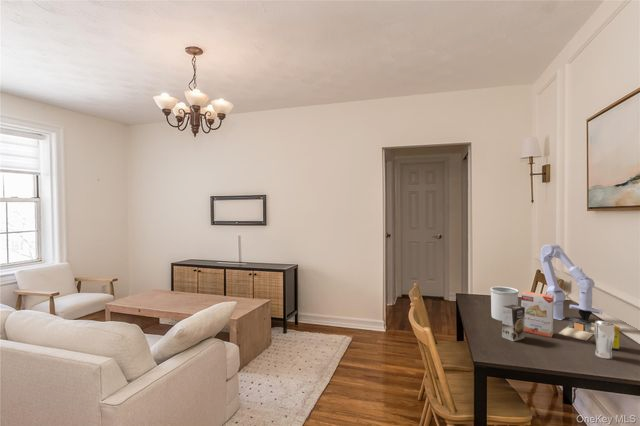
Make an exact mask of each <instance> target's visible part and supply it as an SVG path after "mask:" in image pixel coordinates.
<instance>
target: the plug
mask: <svg viewBox="0 0 640 426" xmlns="http://www.w3.org/2000/svg"><path fill="white" fill-rule="evenodd" d="M574 329H576V330H580V331H584V330H585V324H582V323H578V322H575V323H574Z"/></svg>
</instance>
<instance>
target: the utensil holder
mask: <svg viewBox="0 0 640 426" xmlns="http://www.w3.org/2000/svg"><path fill="white" fill-rule="evenodd" d="M490 303H491V304H490V306H491V307H490V309H491V310H490V312H491V318H492V319H495V320H496V321H500V322H502V320H503V306H508V305H518V306H519V290H518V289H517V288H514V287H510V286H498V285H497V286H491V287H490Z"/></svg>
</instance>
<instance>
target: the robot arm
mask: <svg viewBox="0 0 640 426" xmlns="http://www.w3.org/2000/svg"><path fill="white" fill-rule="evenodd" d="M553 258H557V259H559V261H561V262H562V264H563V265H565V267H566V268H567V269H568V273H569V275H571V277H572V278H573V279H574V280H575V281H576V282H577V283H576V284H577V287H578V288H579V289H578V290H579V291H578V292H579V293H578V295H579V298H578V305H577V304H569V307H568V308H569V309H573V310H578V314H579V315H580V318H581V320H585V321H589V319H590V316H591V315H592V313H593V314H598V315H603V310H602V309H597V308H594V307H593V288H594V287H595V281H594V279H592V278H590V277H589V276H588V275H587V274H585V273H584V271H583V269H582V268H581V267H579V266H576V265H575V264H574V263H573V261H571V259H570V258H569V257H568V255H567V254H566V253H565V251H564V249H563V248H562V247H561V246H560V245H559V244H557V243H553V244H544V245H543V246H542V247H541V248H540V255H539V260H540V263H541V264H540V265H541V267H542V270H543V275H544V278H545V281H546V286H547V288H546V291H545V292H546V295H552V296H554V311H553V320H558V321H563V320H564V319H565V318H566V316H564V302H565V300H566V299H567V298H566V294H565V292H564V291H563V289H562V288H561V287H560V286H559V283H558V280H557V275H556V273H555V268H554V266H553V262H552V260H553Z"/></svg>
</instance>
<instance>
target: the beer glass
mask: <svg viewBox="0 0 640 426" xmlns="http://www.w3.org/2000/svg"><path fill="white" fill-rule="evenodd" d="M594 324H595V327H594V341H595V345H596V346H595V347H596V348H595V351H594V355H595V356H596V357H599V358H601V359H604V358H605V359H606V360H612V359H613V352H612V345H613V341H614V334H615V332H614V325H615V324H614V323H612V322H609V321H605V320H594Z"/></svg>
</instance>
